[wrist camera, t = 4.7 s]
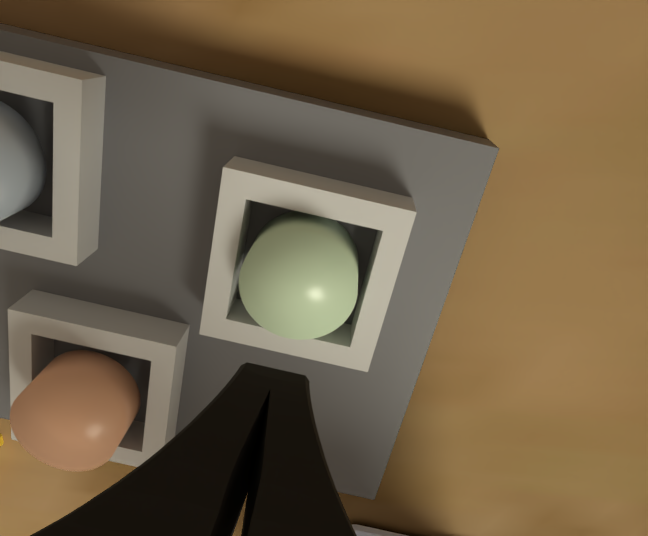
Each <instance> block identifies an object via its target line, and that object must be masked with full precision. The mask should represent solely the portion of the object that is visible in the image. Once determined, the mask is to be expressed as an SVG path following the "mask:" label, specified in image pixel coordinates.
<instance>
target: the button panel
mask: <svg viewBox="0 0 648 536" xmlns="http://www.w3.org/2000/svg"><path fill="white" fill-rule="evenodd" d="M0 101H1V102H3V103H5V104H7V105H8V106H10V107H11V108H13V109H14V110H15V111H17V112H18V113H19V114H20V115H21V116H22V117H23V118H24V119H25V120H26V121H27V122H28V123H29V125H30V126H31V127H32V129H33V130H34V132H35V133H36V135H37V137H38V139H39V141H40V143H41V145H42V148H43V151H44V154H45V159H46V169H47V171H46V180H45V184H44V187H43V189H42V192H41V193H40V195H39V197H38V198H37V199H36V200H35V201H34V202H33V203H32V204H31V205H30V206H28V207H26V208H25V209H23V210H21V211H19V212H17V213H15V214H13V215H11V216H9V217H7V218H5V219H3V220H2V221H0V418H4V419H8V420H10V410H11V406H12V404H13V402H14V400H15V399H16V398H17V397H18V395H19V394H20V393H21V392H22V391H23V390H24V389H25V388H26V387H27V386H28V385H29V384H30V383H31V382H32V381H33V380H34V379H35V378H36V377H37V376H38V374H39V373H40V372H41V371H42V370H43V369H44V368H45V367H46V366H47V365H48V364H49V363H50V362H51V361H52V360H53V359H54V358H56V357H57V356H59V355H61V354H63V353H65V352H69V351H74V350H88V351H93V352H97V353H101V354H103V355H106V356H108V357H110V358H112V359H114V360H115V361H117V362H118V363H120V364H121V365H122V366H123V367H124V368H125V369H126V370H127V371H128V372H129V373H130V374H131V375H132V377H133V378H134V380H135V382H136V384H137V386H138V388H139V392H140V398H141V402H140V408H139V411H138V413H137V415H136V417H135V419H134V420H133V422H132V424H131V425H130V427H129V429H128V430H127V432H126V434H125V435H124V437H123V439H122V440H121V442H120V444H119V445H118V447H117V449H116V450H115V452H114V454H113V455H112V457H111V458H110V459H109V460H108V461H113V462H117V463H122V464H126V465H131V466H135V467H138V466H140V465H141V464H142V463H144V462H145V461H146V460H147V459H149V458H150V457H151V456H152V455H154V454H155V453H156V452H157V451H159V450H160V449H161V448H162V447H163V446H164V445H166V444H167V443H168V442H169V441H170V440H171V439H172V438H173V437H175V436H176V435H177V434H178V433H179V432H180V431H181V430H183V429H184V428H185V427H186V426H187V425H188V424H189V423H190V422H191V421H192V420H193V419H194V418H195V417H196V416H197V415H198V414H199V413H200V412H201V411H202V410H203V409H204V408H205V407H206V406H207V405H208V404H209V403H210V402H211V401H212V400H213V399H214V398H215V397H216V396H217V395H218V394H219V392H220V391H221V390H222V389H223V388H224V387H225V386H226V384H227V383H228V382H229V381H230V380H231V378H232V377H233V376H234V374H235V373H236V372H237V370H238V369H239V367H240V366H241V365H243V364H245V363H246V362H248V363H253V364H257V365H262V366H266V367H271V368H275V369H279V370H284V371H288V372H293V373H297V374H302V375H306V377H307V378H308V380H309V386H310V397H311V403H312V409H313V414H314V419H315V423H316V427H317V431H318V435H319V438H320V442H321V445H322V448H323V452H324V455H325V459H326V462H327V465H328V468H329V471H330V473H331V476H332V479H333V481H334V484H335V487H336V490H337V492H340V493H345V494H349V495H354V496H359V497H363V498H368V499H372V500H374V499H375V497H376V494H377V491H378V488H379V485H380V483H381V480H382V477H383V474H384V471H385V468H386V466H387V463H388V460H389V457H390V454H391V452H392V449H393V446H394V443H395V440H396V438H397V435H398V432H399V429H400V426H401V423H402V421H403V418H404V415H405V412H406V409H407V407H408V404H409V401H410V398H411V395H412V392H413V390H414V387H415V384H416V381H417V378H418V376H419V373H420V370H421V367H422V364H423V361H424V359H425V356H426V353H427V350H428V347H429V345H430V342H431V339H432V336H433V333H434V331H435V328H436V325H437V322H438V319H439V316H440V314H441V311H442V308H443V305H444V302H445V300H446V297H447V294H448V291H449V288H450V285H451V283H452V280H453V277H454V274H455V271H456V269H457V266H458V263H459V260H460V257H461V254H462V252H463V249H464V246H465V243H466V240H467V238H468V235H469V232H470V229H471V226H472V224H473V221H474V218H475V215H476V212H477V209H478V207H479V204H480V201H481V198H482V195H483V193H484V190H485V187H486V184H487V181H488V178H489V176H490V173H491V170H492V167H493V164H494V162H495V159H496V156H497V153H498V150H499V148H498V147H497V146H496V145H495V144H493V143H492V142H491V141H490V140H489V139H485V138H481V137H477V136H472V135H468V134H464V133H460V132H456V131H451V130H447V129H443V128H439V127H435V126H430V125H426V124H422V123H418V122H414V121H409V120H405V119H401V118H397V117H393V116H388V115H384V114H380V113H376V112H372V111H367V110H363V109H359V108H355V107H351V106H346V105H342V104H338V103H334V102H330V101H325V100H321V99H317V98H313V97H309V96H304V95H300V94H296V93H292V92H288V91H283V90H279V89H275V88H271V87H267V86H262V85H258V84H254V83H250V82H245V81H241V80H237V79H233V78H229V77H224V76H220V75H216V74H212V73H208V72H203V71H199V70H195V69H191V68H187V67H182V66H178V65H174V64H170V63H166V62H161V61H157V60H153V59H149V58H145V57H140V56H136V55H132V54H128V53H124V52H119V51H115V50H111V49H107V48H103V47H98V46H94V45H90V44H86V43H82V42H77V41H73V40H69V39H65V38H61V37H56V36H52V35H48V34H44V33H40V32H35V31H31V30H27V29H23V28H19V27H14V26H10V25H6V24H2V23H0ZM292 211H299V212H303V213H308V214H312V215H316V216H321V217H325V218H329V219H333V220H335V221H337V222H338V223H339V224H341V225H342V226H343V227H344V228H345V229H346V230H347V232H348V233H349V234H350V236H351V237H352V239H353V241H354V243H355V246H356V248H357V252H358V260H359V267H358V295H357V300H356V303H355V306H354V309H353V311H352V313H351V314H350V316H349V317H348V318H347V320H346V321H345V322H344V323H343V324H342V325H341V326H340V327H338V328H337V329H336V330H334V331H332V332H331V333H329V334H327V335H324V336H321V337H318V338H314V339H306V340H296V339H289V338H285V337H281V336H278V335H276V334H273V333H271V332H270V331H268V330H266V329H265V328H263V327H262V326H260V325H259V324H258V323H257V322H256V321H255V320H254V319H253V318H252V317H251V316H250V314H249V313H248V311H247V310H246V308H245V306H244V304H243V302H242V299H241V296H240V291H239V274H240V270H241V267H242V264H243V262H244V260H245V258H246V256H247V254H248V252H249V250H250V248H251V247H252V245H253V243H254V241H255V239H256V237H257V235H258V234H259V232H260V231H261V230H262V228H263V227H264V226H265V225H266V224H267V223H268V222H270V221H271V220H273V219H274V218H276V217H278V216H280V215H282V214H285V213H288V212H292ZM11 439H12V440H17V439H16V437H15V435H14V433H13V431H12V428H11ZM17 441H18V440H17Z"/></svg>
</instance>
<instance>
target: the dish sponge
mask: <svg viewBox="0 0 648 536" xmlns="http://www.w3.org/2000/svg"><path fill="white" fill-rule="evenodd" d="M2 444H3V437H2V435H1V434H0V447H1V446H2Z"/></svg>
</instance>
